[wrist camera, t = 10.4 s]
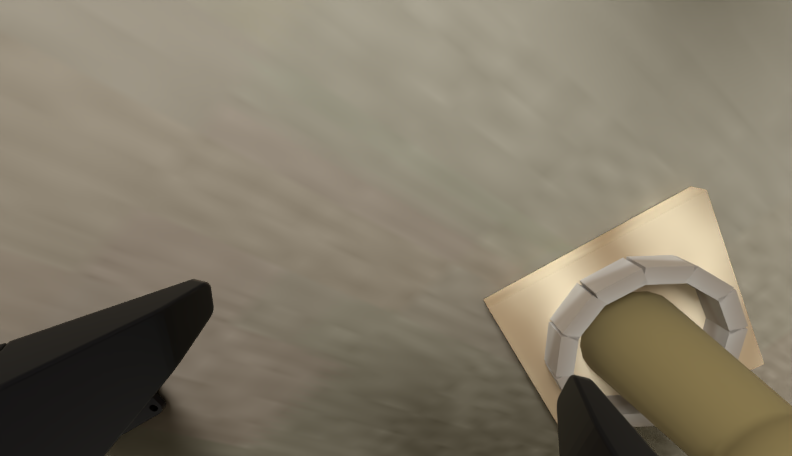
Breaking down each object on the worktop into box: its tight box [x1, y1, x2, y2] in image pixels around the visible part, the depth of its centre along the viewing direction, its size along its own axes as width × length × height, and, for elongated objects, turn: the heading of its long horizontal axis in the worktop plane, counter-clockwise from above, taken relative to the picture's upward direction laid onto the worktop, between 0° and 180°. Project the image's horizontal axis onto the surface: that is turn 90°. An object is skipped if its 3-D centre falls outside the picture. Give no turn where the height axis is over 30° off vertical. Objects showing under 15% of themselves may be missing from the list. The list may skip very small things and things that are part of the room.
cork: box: [580, 291, 792, 456], centre depth 16 cm, size 6×6×11 cm
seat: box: [483, 187, 764, 427], centre depth 21 cm, size 13×13×2 cm
